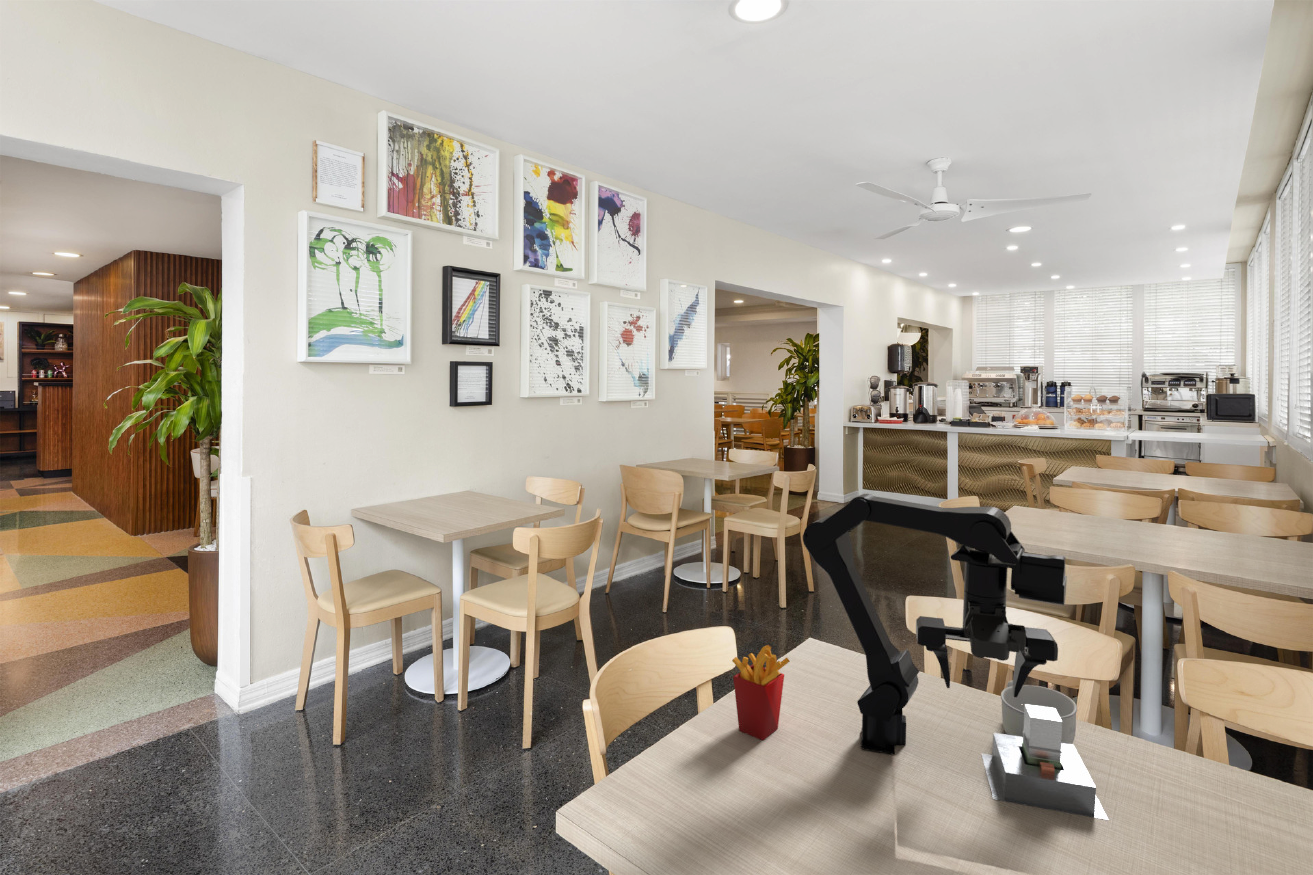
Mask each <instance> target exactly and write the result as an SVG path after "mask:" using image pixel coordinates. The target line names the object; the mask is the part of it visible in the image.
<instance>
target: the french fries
mask: <svg viewBox="0 0 1313 875" xmlns="http://www.w3.org/2000/svg"><path fill="white" fill-rule="evenodd" d="M771 649H772V646H770V645H769V644H766V645H765V646H763V647H762V648H761V649H760V651H759V653H758V654H757V656H755V654H754V653H749V654H748V655H747V656H748V657H749V658H748V657H746V656H743V657H742V661H741V660H740V659H739V658H738V657H737V656H735V657H734V658H732V660H731V662H732V663H734V665H735V666H736V667H737V668H738V670H739V671H740V672H738V673H736V674H735V675H733V687H734V694H735V695H734V696H735V704H736V714H737V723H738V731H739V732H741V733H744V734H745V735H749V736H751V737H754V738H755V739H759V740H761V741H765V740H766V739H767V738H768V737H770V736H771V735H772V734H774V732H776V731H777V730H778V729H779V722H780V713H781V705H782V698H783V697H782V696H783V689H784V682H785V681H784V680H785V674H784V673H782V672H780V671H779V670H781V669H783V668H784V667H785V666H786V665H787V664H789V663H790V660H789V658H788V657H785V658H784V659H783V660H782V661H779V660H778V658H777V655H776V654H773V653H772V651H771ZM749 659H750V660H751V662H752V664H751V665H749ZM777 660H778V661H777ZM764 665H765V667H764Z"/></svg>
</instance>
